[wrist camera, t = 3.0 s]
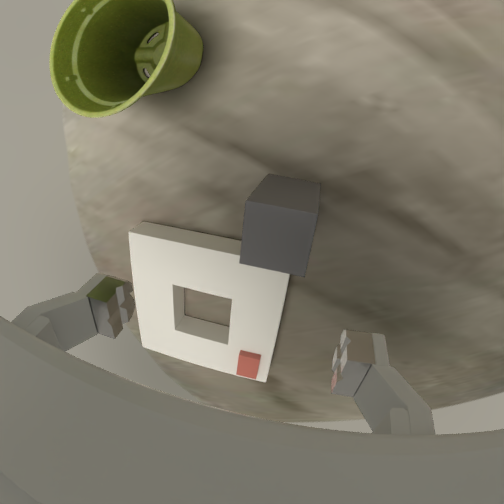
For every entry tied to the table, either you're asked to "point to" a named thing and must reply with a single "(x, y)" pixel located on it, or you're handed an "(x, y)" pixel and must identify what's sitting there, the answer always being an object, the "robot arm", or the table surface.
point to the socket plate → (208, 281)
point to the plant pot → (120, 53)
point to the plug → (280, 224)
